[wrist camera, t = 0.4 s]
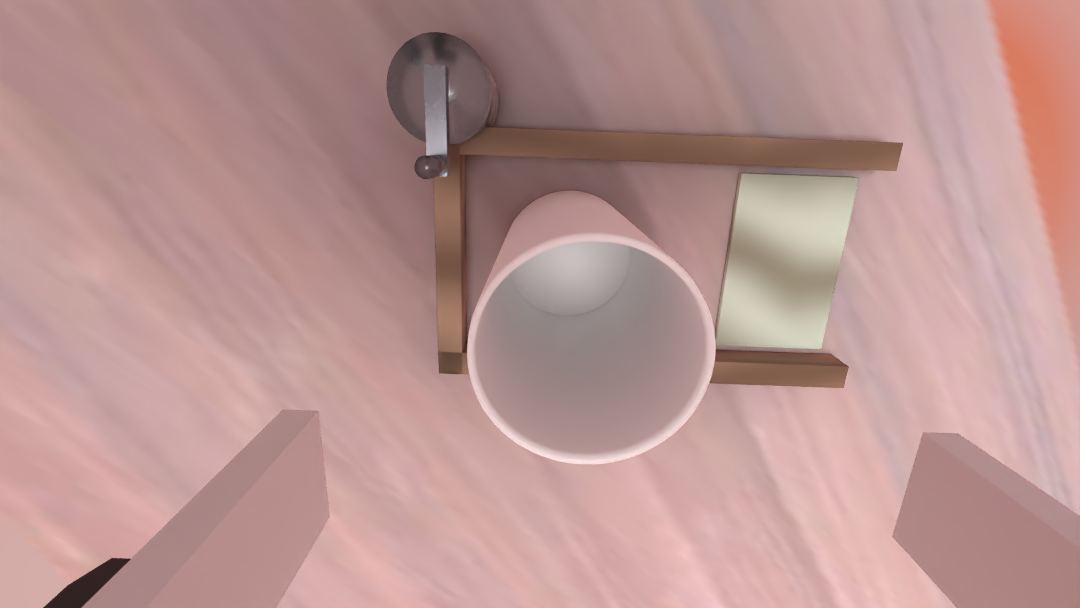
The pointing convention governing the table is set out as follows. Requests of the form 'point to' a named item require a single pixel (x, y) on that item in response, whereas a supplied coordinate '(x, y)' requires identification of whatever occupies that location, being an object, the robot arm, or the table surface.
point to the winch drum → (441, 96)
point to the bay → (753, 251)
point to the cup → (588, 335)
